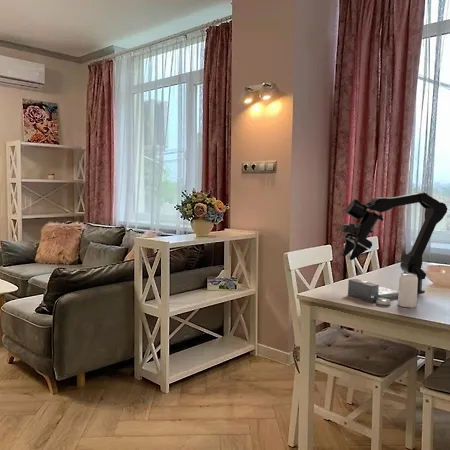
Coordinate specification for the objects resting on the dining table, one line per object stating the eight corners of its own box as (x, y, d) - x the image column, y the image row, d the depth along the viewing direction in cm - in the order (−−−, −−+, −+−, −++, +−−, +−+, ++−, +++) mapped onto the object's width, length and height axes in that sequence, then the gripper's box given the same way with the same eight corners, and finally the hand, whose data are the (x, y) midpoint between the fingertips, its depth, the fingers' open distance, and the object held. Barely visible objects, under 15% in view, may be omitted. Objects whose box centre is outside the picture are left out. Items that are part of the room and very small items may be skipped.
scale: (376, 290, 197) (377, 274, 196) (401, 298, 185) (402, 281, 185) (346, 295, 189) (347, 278, 188) (371, 303, 177) (372, 285, 177)
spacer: (382, 302, 179) (383, 297, 179) (393, 306, 175) (393, 300, 174) (373, 304, 177) (373, 299, 176) (383, 307, 172) (383, 302, 172)
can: (394, 303, 178) (396, 272, 176) (411, 303, 178) (412, 272, 177) (402, 308, 171) (404, 276, 170) (419, 308, 172) (421, 276, 170)
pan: (378, 287, 196) (378, 285, 196) (399, 293, 186) (399, 291, 186) (358, 290, 190) (359, 288, 190) (379, 296, 181) (379, 294, 181)
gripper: (342, 214, 200) (324, 245, 201) (357, 217, 182) (337, 251, 183) (364, 226, 202) (345, 258, 202) (381, 231, 183) (360, 265, 184)
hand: (346, 257), depth 193 cm, fingers open, 9 cm apart
